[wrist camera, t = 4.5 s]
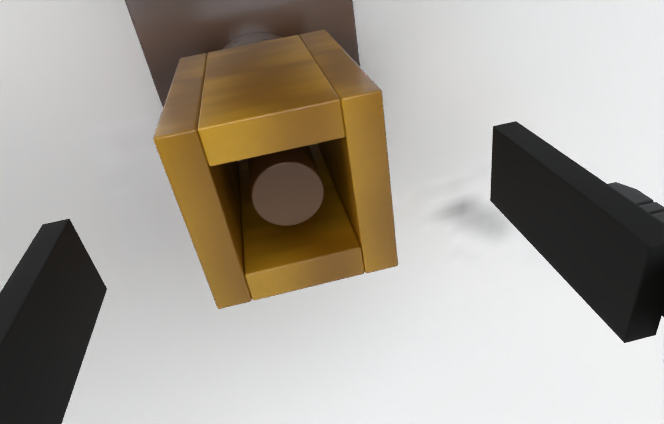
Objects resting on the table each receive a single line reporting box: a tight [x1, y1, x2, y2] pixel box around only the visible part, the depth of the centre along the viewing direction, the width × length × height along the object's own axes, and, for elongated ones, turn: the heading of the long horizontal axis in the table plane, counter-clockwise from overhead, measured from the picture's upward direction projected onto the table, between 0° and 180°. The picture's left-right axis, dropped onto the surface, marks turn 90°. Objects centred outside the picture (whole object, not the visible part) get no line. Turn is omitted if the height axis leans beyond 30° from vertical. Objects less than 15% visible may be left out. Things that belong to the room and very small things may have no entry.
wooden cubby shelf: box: [153, 30, 398, 309], centre depth 18 cm, size 6×6×9 cm
